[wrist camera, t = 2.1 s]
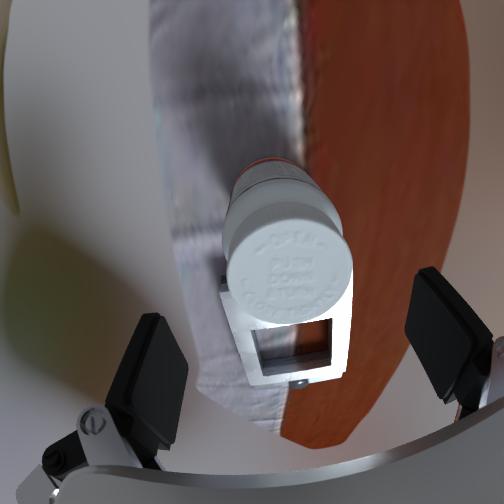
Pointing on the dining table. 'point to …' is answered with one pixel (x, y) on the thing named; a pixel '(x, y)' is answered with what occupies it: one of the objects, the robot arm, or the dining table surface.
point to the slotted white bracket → (293, 367)
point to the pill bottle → (284, 245)
